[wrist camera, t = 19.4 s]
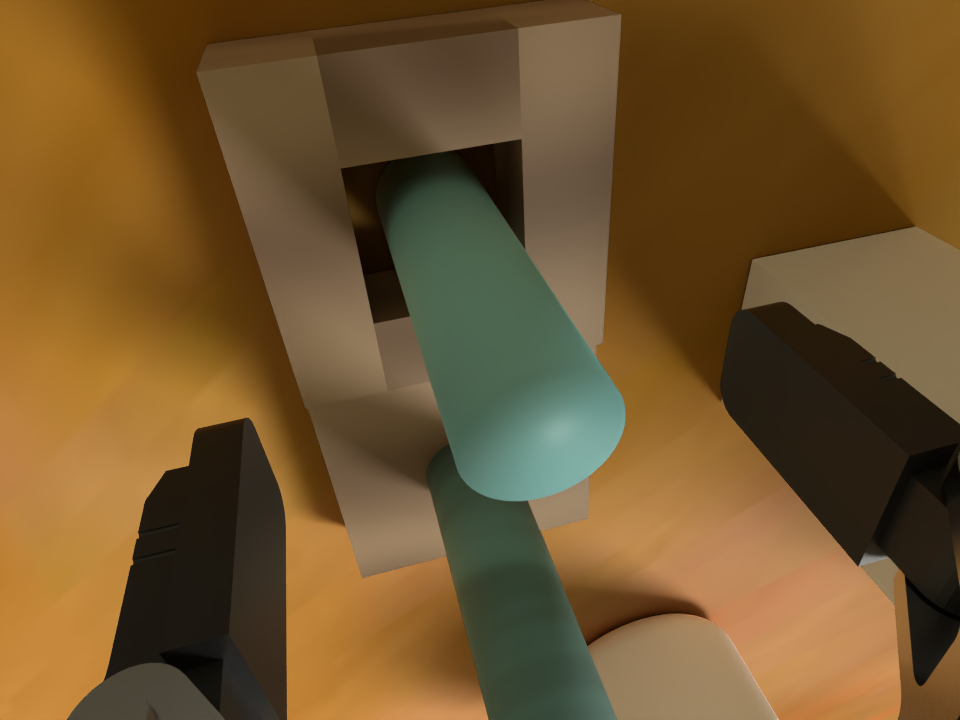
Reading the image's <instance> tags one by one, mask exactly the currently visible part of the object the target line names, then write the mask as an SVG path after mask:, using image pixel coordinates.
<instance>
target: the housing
mask: <svg viewBox="0 0 960 720" xmlns="http://www.w3.org/2000/svg"><path fill="white" fill-rule="evenodd" d="M776 302H786V303H789V304H790V305H792V306H793V307H794V308H796V309H797V310H798V311H799V312H800V313H802V314H803V315H804V316H805V317H807V318H808V319H809V320H810V321H811V322H813V323H814V324H821V325H823V326H825V327H827V328H830V329H832V330H834V331H836V332H839V333H841V334H843V335H845V336H848V337H850V338H852V339H853V340H854V341H855V342H857V343H858V344H859V345H860V346H862V347H863V348H864V349H866V350H867V351H868V352H869V353H871V354H872V355H873V356H874V357H876V358H875V359H876V361H877V362H880V361H881V362H882V363H883V364H885V365H886V366H887V367H888V368H890V369H891V370H892V371H893V372H895V373H896V377H897V378H902V379H903V380H905V381H906V382H907V383H909V384H910V385H911V386H912V387H914V388H915V389H916V390H917V391H919V392H920V393H921V394H922V395H924V396H925V397H926V398H928V399H929V400H930V401H931V402H933V403H934V404H935V405H936V406H938V407H939V408H940V409H941V410H943V411H944V412H945V413H946V414H948V415H949V416H950V417H952V418H953V419H954V420H955V421H957V422H958V423H959V424H960V250H959V249H957V248H955V247H953V246H951V245H950V244H948V243H946V242H944V241H942V240H940V239H939V238H937V237H935V236H933V235H931V234H929V233H928V232H926V231H924V230H922V229H920V228H919V227H917V226H916V227H911V228H906V229H901V230H896V231H891V232H886V233H881V234H876V235H871V236H866V237H861V238H857V239H852V240H847V241H842V242H837V243H832V244H827V245H822V246H817V247H812V248H807V249H802V250H797V251H792V252H787V253H782V254H777V255H772V256H767V257H762V258H757V259H752V264H751V268H750V273H749V277H748V282H747V286H746V291H745V295H744V300H743V304H742V309H741V310H744V309H749V308H753V307H758V306H763V305H767V304H772V303H776ZM721 402H722V404H723V405H724V403H723V399H722V400H721ZM724 406H725V405H724ZM861 567H862V568H863V569H864V570H865V571H866V573H867V574H868V575H869V576H870V577H871V578H872V580H873V581H874V582H875V583H876V584H877V586H878V587H879V588H880V589H881V590H882V591H883V593H884V594H885V595H886V596H887V597H888V598H889V600H890V601H891V602H892V603H893V604H894V605H895V602H894V589H893V580H894V577H895V574H896V572H897V570H898V567H897V566H896V565H895V564H894V563H893V561H892V560H891V559H890V558H886V559H883V560H879V561H876V562H872V563H869V564H866V565H862V566H861Z"/></svg>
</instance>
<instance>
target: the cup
mask: <svg viewBox="0 0 960 720" xmlns="http://www.w3.org/2000/svg"><path fill="white" fill-rule="evenodd" d="M588 649H589V651H590V654H591V656H592V659H593V661H594V664H595V666H596V668H597V671H598V673H599V676H600V678H601V681H602V683H603V686H604V688H605V690H606V693H607V695H608V698H609V700H610V703H611V705H612V708H613V710H614V713H615V715H616V717H617V720H779V719H778V717H777V715H776V714H775V712H774V710H773V709H772V707H771V705H770V704H769V702H768V700H767V699H766V697H765V695H764V694H763V692H762V690H761V689H760V687H759V685H758V684H757V682H756V680H755V679H754V677H753V675H752V674H751V672H750V670H749V669H748V667H747V665H746V664H745V662H744V660H743V659H742V657H741V655H740V654H739V652H738V650H737V649H736V647H735V645H734V644H733V642H732V641H731V639H730V638H729V636H728V635H727V634H726V632H725V631H724V630H723V629H721V628H720V627H719V626H718V625H716V624H715V623H713V622H711V621H709V620H707V619H705V618H702V617H699V616H695V615H689V614H663V615H657V616H652V617H648V618H644V619H640V620H637V621H634V622H631V623H629V624H626V625H623V626H621V627H619V628H617V629H615V630H613V631H611V632H609V633H607V634H605V635H603V636H602V637H600V638H598V639H597V640H595V641H594V642H593V643H591V644H590V645H588Z"/></svg>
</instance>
